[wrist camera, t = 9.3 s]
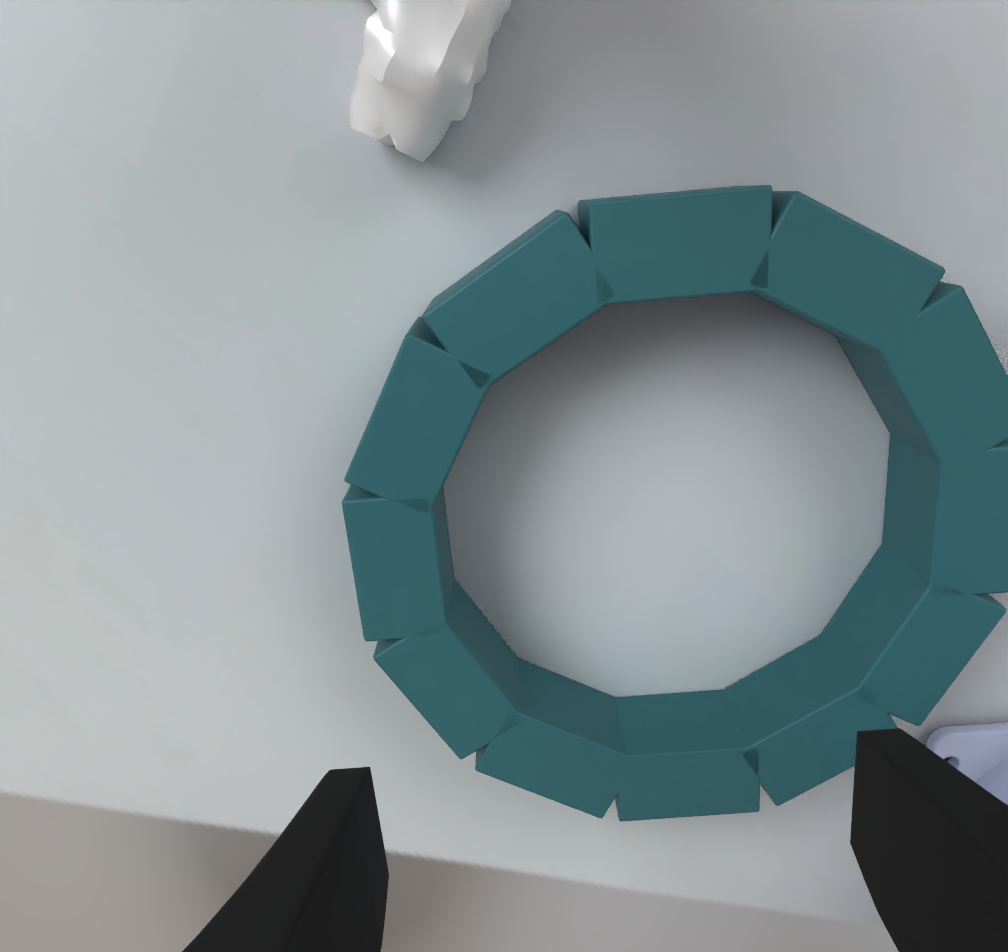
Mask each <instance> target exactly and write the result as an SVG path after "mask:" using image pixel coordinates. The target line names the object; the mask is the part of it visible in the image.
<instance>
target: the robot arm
mask: <svg viewBox="0 0 1008 952" xmlns="http://www.w3.org/2000/svg"><path fill="white" fill-rule="evenodd" d="M948 757H951V758H950V759H949V760H948V761H945V760H944V759H945V758H948ZM850 843H851V846H852V849H853V851H854V854H855V856H856V859H857V862H858V864H859V867H860V869H861V872H862V874H863V877H864V880H865V882H866V885H867V887H868V889H869V892H870V894H871V897H872V899H873V901H874V904H875V906H876V909H877V911H878V913H879V915H880V917H881V919H882V921H883V923H884V925H885V927H886V929H887V930H888V932H889V934H890V936H891V938H892V940H893V942H894V943H895V945H896V947H897V949H898V951H899V952H1008V722H1002V723H988V724H975V725H961V726H947V727H942V728H939V729H937V730H935V731H934V732H932V733H931V735H930V736H929V737H928V740H927V743H926V746H924V745H923V744H922V743H920V742H919V741H917V740H916V739H915V738H913V737H912V736H910V735H909V734H907V733H906V732H904V731H903V730H901V729H900V728H894V729H880V730H867V731H857V740H856V756H855V773H854V789H853V806H852V822H851V839H850ZM388 879H389V873H388V867H387V861H386V855H385V849H384V844H383V838H382V832H381V827H380V821H379V815H378V809H377V804H376V798H375V792H374V787H373V781H372V775H371V770H370V767H362V768H348V769H334V770H329V771H328V773H327V774H326V775H325V776H324V777H323V778H322V780H321V781H320V782H319V784H318V785H317V786H316V788H315V789H314V791H313V792H312V793H311V795H310V796H309V797H308V799H307V800H306V802H305V803H304V804H303V806H302V807H301V808H300V810H299V811H298V812H297V814H296V815H295V817H294V818H293V819H292V821H291V822H290V823H289V825H288V826H287V827H286V829H285V830H284V831H283V833H282V834H281V835H280V837H279V838H278V839H277V841H276V842H275V843H274V844H273V846H272V847H271V848H270V850H269V851H268V852H267V853H266V855H265V856H264V857H263V858H262V860H261V861H260V862H259V863H258V865H257V866H256V868H254V870H253V871H252V872H251V874H250V875H249V876H248V877H247V879H246V880H245V881H244V882H243V883H242V885H241V886H240V887H239V888H238V890H237V891H236V892H235V893H234V894H233V895H232V897H231V898H230V899H229V900H228V901H227V902H226V903H225V905H224V906H223V907H222V908H221V909H220V910H219V911H218V913H217V914H216V915H215V916H214V917H213V918H212V919H211V921H210V922H209V923H208V924H207V925H206V926H205V928H204V929H203V930H202V931H201V932H200V934H198V935H197V936H196V938H195V939H194V940H193V941H192V942H191V943H190V944H189V945H188V946H187V947H186V948H185V949H184V950H183V951H182V952H380V951H381V946H382V938H383V930H384V921H385V911H386V900H387V890H388V889H387V888H388Z"/></svg>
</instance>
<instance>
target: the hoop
mask: <svg viewBox="0 0 1008 952" xmlns="http://www.w3.org/2000/svg"><path fill="white" fill-rule="evenodd" d="M578 217H579V229H578V227H577V226H576V224H575V223H574V221H573V220H572V218H571V216H570V215H569V214H568V213H566V212H564V211H561V210H555V211H554V212H552V213H551V214H550V215H548V216H547V217H545V218H544V219H543V220H541V221H540V222H539V223H537V224H536V225H534V226H533V227H532V228H530V229H529V230H528V231H526V232H525V233H523V234H522V235H521V236H519V237H518V238H517V239H515V240H514V241H512V242H511V243H510V244H508V245H507V246H505V247H504V248H503V249H501V250H500V251H499V252H497V253H496V254H494V255H493V256H492V257H490V258H489V259H488V260H486V261H485V262H483V263H482V264H481V265H479V266H478V267H477V268H475V269H474V270H472V271H471V272H470V273H468V274H467V275H465V276H464V277H463V278H461V279H460V280H459V281H457V282H456V283H454V284H453V285H452V286H450V287H449V288H448V289H446V290H445V291H443V292H442V293H441V294H439V295H438V296H437V297H435V298H434V299H433V300H432V302H431V303H430V305H429V306H428V308H427V309H426V311H425V312H424V314H423V318H422V317H418V318H417V320H416V321H415V322H414V324H413V325H412V327H411V328H410V330H409V331H408V333H407V334H406V336H405V338H404V340H403V343H402V345H401V347H400V350H399V352H398V354H397V357H396V359H395V361H394V364H393V366H392V368H391V371H390V373H389V375H388V378H387V380H386V382H385V385H384V387H383V389H382V392H381V394H380V396H379V399H378V401H377V403H376V406H375V408H374V411H373V413H372V415H371V418H370V420H369V422H368V425H367V427H366V429H365V432H364V434H363V436H362V439H361V441H360V443H359V446H358V448H357V450H356V453H355V455H354V457H353V460H352V462H351V464H350V467H349V469H348V471H347V474H346V476H345V482H347V483H349V484H351V486H350V488H349V489H348V491H347V493H346V495H345V497H344V499H343V501H342V507H343V513H344V519H345V525H346V531H347V537H348V543H349V549H350V555H351V562H352V568H353V574H354V580H355V586H356V592H357V598H358V604H359V610H360V617H361V623H362V629H363V635H364V639H365V641H377V640H378V642H377V646H376V649H375V653H374V656H373V658H374V660H375V661H376V662H377V664H378V665H379V666H380V667H381V668H382V669H383V671H384V672H385V673H386V674H387V675H388V676H389V678H390V679H391V680H392V681H393V682H394V683H395V684H396V686H397V687H398V688H399V689H400V690H401V691H402V693H403V694H404V695H405V696H406V697H407V698H408V699H409V701H410V702H411V703H412V704H413V705H414V706H415V708H416V709H417V710H418V711H419V712H420V713H421V714H422V716H423V717H424V718H425V719H426V720H427V721H428V723H429V724H430V725H431V726H432V727H433V728H434V730H435V731H436V732H437V733H438V734H439V735H440V736H441V738H442V739H443V740H444V741H445V742H446V743H447V745H448V746H449V747H450V748H451V749H452V750H453V751H454V753H455V754H456V755H457V756H458V757H459V758H460V759H463V758H465V757H466V756H468V755H470V754H472V753H473V752H475V751H476V766H475V770H476V771H478V772H481V773H483V774H486V775H489V776H491V777H494V778H497V779H499V780H502V781H504V782H507V783H510V784H512V785H515V786H517V787H520V788H523V789H525V790H528V791H531V792H533V793H536V794H538V795H541V796H544V797H546V798H549V799H551V800H554V801H557V802H559V803H562V804H564V805H567V806H570V807H572V808H575V809H578V810H580V811H583V812H585V813H588V814H591V815H593V816H596V817H598V818H603V816H604V814H605V813H606V811H607V810H608V808H609V807H610V805H611V803H612V802H613V800H614V799H615V801H616V806H617V812H618V817H619V820H620V821H633V820H647V819H661V818H676V817H690V816H704V815H719V814H733V813H747V812H758V811H759V803H760V784H761V786H762V787H763V788H764V790H765V791H766V792H767V794H768V795H769V797H770V798H771V799H772V801H773V802H774V803H775V805H777V806H779V805H781V804H783V803H784V802H786V801H788V800H790V799H792V798H794V797H796V796H798V795H800V794H802V793H804V792H805V791H807V790H809V789H811V788H813V787H815V786H817V785H819V784H821V783H823V782H824V781H826V780H828V779H830V778H832V777H834V776H836V775H838V774H840V773H842V772H843V771H845V770H847V769H849V768H851V767H853V766H855V756H856V740H857V731H867V730H880V729H894V728H898V727H897V726H896V724H895V722H894V721H893V719H892V718H891V716H890V715H889V714H891V715H893V716H896V717H898V718H900V719H903V720H905V721H907V722H910V723H912V724H914V725H917V726H919V725H921V723H922V722H923V721H924V719H925V718H926V717H927V715H928V714H929V713H930V712H931V710H932V709H933V708H934V706H935V705H936V704H937V702H938V701H939V700H940V698H941V697H942V696H943V694H944V693H945V692H946V690H947V689H948V688H949V686H950V685H951V684H952V682H953V681H954V680H955V678H956V677H957V676H958V674H959V673H960V672H961V670H962V669H963V668H964V667H965V665H966V664H967V663H968V661H969V660H970V659H971V657H972V656H973V655H974V653H975V652H976V651H977V649H978V648H979V647H980V645H981V644H982V643H983V641H984V640H985V639H986V637H987V636H988V635H989V633H990V632H991V631H992V629H993V628H994V627H995V625H996V624H997V623H998V622H999V620H1000V619H1001V618H1002V616H1003V615H1004V614H1005V612H1006V609H1005V608H1004V606H1002V605H1001V604H1000V603H999V602H997V601H996V600H995V599H994V598H993V597H991V596H990V595H989V594H990V593H1004V592H1008V376H1007V374H1006V372H1005V370H1004V368H1003V366H1002V364H1001V362H1000V360H999V358H998V356H997V354H996V352H995V350H994V348H993V346H992V344H991V342H990V340H989V338H988V336H987V334H986V332H985V330H984V328H983V326H982V324H981V322H980V320H979V318H978V316H977V314H976V312H975V310H974V308H973V306H972V304H971V302H970V300H969V298H968V296H967V294H966V292H965V290H964V288H963V287H962V286H959V285H954V284H949V283H944V282H940V280H941V278H942V277H943V275H944V273H945V269H944V268H943V267H941V266H940V265H938V264H936V263H934V262H932V261H930V260H928V259H926V258H924V257H922V256H920V255H919V254H917V253H915V252H913V251H911V250H909V249H907V248H905V247H903V246H901V245H900V244H898V243H896V242H894V241H892V240H890V239H888V238H886V237H884V236H882V235H880V234H879V233H877V232H875V231H873V230H871V229H869V228H867V227H865V226H863V225H861V224H860V223H858V222H856V221H854V220H852V219H850V218H848V217H846V216H844V215H842V214H840V213H839V212H837V211H835V210H833V209H831V208H829V207H827V206H825V205H823V204H821V203H819V202H818V201H816V200H814V199H812V198H810V197H808V196H806V195H804V194H802V193H800V192H799V191H772V187H771V186H769V185H761V186H733V187H722V188H711V189H700V190H689V191H678V192H667V193H656V194H645V195H634V196H623V197H612V198H601V199H590V200H581V201H579V202H578ZM745 292H750V293H752V294H754V295H756V296H758V297H760V298H762V299H764V300H766V301H768V302H770V303H772V304H774V305H776V306H778V307H780V308H782V309H784V310H786V311H788V312H790V313H792V314H794V315H796V316H798V317H800V318H802V319H804V320H806V321H808V322H810V323H812V324H814V325H816V326H818V327H820V328H822V329H824V330H826V331H828V332H830V333H832V334H834V335H835V336H836V338H837V340H838V342H839V343H840V345H841V347H842V349H843V351H844V352H845V354H846V356H847V358H848V359H849V361H850V363H851V365H852V367H853V368H854V370H855V372H856V374H857V375H858V377H859V379H860V381H861V383H862V384H863V386H864V388H865V390H866V391H867V393H868V395H869V397H870V398H871V400H872V402H873V404H874V406H875V407H876V409H877V411H878V413H879V414H880V416H881V418H882V420H883V422H884V423H885V425H886V427H887V429H888V430H889V432H890V446H889V459H888V473H887V487H886V500H885V514H884V528H883V541H882V545H881V546H880V548H879V549H878V551H877V552H876V554H875V555H874V557H873V558H872V560H871V561H870V562H869V564H868V565H867V567H866V568H865V570H864V571H863V573H862V574H861V576H860V577H859V579H858V580H857V582H856V583H855V585H854V586H853V588H852V589H851V591H850V592H849V593H848V595H847V596H846V598H845V599H844V601H843V602H842V604H841V605H840V607H839V608H838V610H837V611H836V613H835V614H834V616H833V617H832V619H831V620H830V622H829V623H828V624H827V626H826V627H825V629H824V630H823V632H822V633H821V635H819V636H818V637H816V638H814V639H812V640H811V641H809V642H807V643H805V644H804V645H802V646H800V647H798V648H796V649H795V650H793V651H791V652H789V653H788V654H786V655H784V656H782V657H780V658H779V659H777V660H775V661H773V662H772V663H770V664H768V665H766V666H765V667H763V668H761V669H759V670H757V671H756V672H754V673H752V674H750V675H749V676H747V677H745V678H743V679H741V680H740V681H738V682H736V683H734V684H733V685H731V686H729V687H727V688H726V689H724V690H712V691H699V692H685V693H672V694H658V695H645V696H631V697H618V698H615V697H612V696H610V695H607V694H605V693H602V692H600V691H597V690H595V689H593V688H590V687H588V686H585V685H583V684H580V683H578V682H575V681H573V680H570V679H568V678H566V677H563V676H561V675H558V674H556V673H553V672H551V671H548V670H546V669H543V668H541V667H539V666H536V665H534V664H531V663H529V662H526V661H524V660H521V659H519V658H517V656H516V655H515V654H514V653H513V651H512V650H511V649H510V648H509V646H508V645H507V644H506V643H505V641H504V640H503V639H502V638H501V636H500V635H499V634H498V633H497V631H496V630H495V629H494V628H493V626H492V625H491V624H490V623H489V621H488V620H487V619H486V618H485V616H484V615H483V614H482V613H481V611H480V610H479V609H478V608H477V606H476V605H475V604H474V603H473V601H472V600H471V599H470V598H469V596H468V595H467V594H466V593H465V591H464V590H463V589H462V588H461V586H460V585H459V584H458V582H457V581H456V580H455V579H454V575H453V567H452V558H451V550H450V541H449V533H448V525H447V516H446V508H445V499H444V491H443V484H444V482H445V480H446V478H447V475H448V473H449V471H450V469H451V467H452V465H453V463H454V461H455V458H456V456H457V454H458V452H459V450H460V448H461V446H462V444H463V441H464V439H465V437H466V435H467V433H468V431H469V429H470V427H471V424H472V422H473V420H474V418H475V416H476V414H477V412H478V410H479V407H480V405H481V403H482V401H483V399H484V397H485V395H486V393H487V390H488V388H489V386H490V385H492V384H493V383H495V382H496V381H497V380H499V379H500V378H502V377H503V376H505V375H506V374H508V373H509V372H511V371H512V370H513V369H515V368H516V367H518V366H519V365H521V364H522V363H524V362H525V361H527V360H528V359H529V358H531V357H532V356H534V355H535V354H537V353H538V352H540V351H541V350H543V349H544V348H545V347H547V346H548V345H550V344H551V343H553V342H554V341H556V340H557V339H558V338H560V337H561V336H563V335H564V334H566V333H567V332H569V331H570V330H572V329H573V328H574V327H576V326H577V325H579V324H580V323H582V322H583V321H585V320H586V319H588V318H589V317H590V316H592V315H593V314H595V313H596V312H598V311H599V310H601V309H602V308H604V307H605V306H606V305H608V304H619V303H630V302H642V301H653V300H665V299H676V298H687V297H699V296H710V295H722V294H733V293H745Z"/></svg>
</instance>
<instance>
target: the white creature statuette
mask: <svg viewBox="0 0 1008 952" xmlns="http://www.w3.org/2000/svg"><path fill="white" fill-rule="evenodd" d="M511 1H512V0H379V1H378V0H371V2H372V3H373V5H374V6H375V7H376V9H377V11H376V12H375V13H373V14H372V15H371V16H370V17H369V18H368V20H366V21H365V24H364V27H363V31H362V35H363V43H364V49H363V54H362V56H361V59H360V61H359V64H358V66H357V71H358V77H357V80H356V83H355V86H354V89H353V92H352V95H351V98H350V127H352V128H353V129H355V130H357V131H359V132H362V133H364V134H366V135H368V136H370V137H372V138H374V139H375V140H377V141H380V142H382V143H384V144H386V145H389V146H392V145H395V148H396V150H398V151H400V152H402V153H404V154H406V155H408V156H410V157H412V158H414V159H416V160H418V161H421V162H424V161H425V159H426V158H427V157H428V156H429V155H430V154H431V153H432V152H433V151H434V150H435V149H436V148H437V147H438V145H439V144H440V142H441V140H442V139H443V137H444V136H445V134H446V132H447V130H448V128H449V127H450V125H451V123H452V122H453V121H461V120H462V119H463V118H464V117H465V116H466V114H467V112H468V110H469V107H470V104H471V100H472V97H473V89H474V85H476V84H477V83H479V82H480V81H481V80H482V79H483V77H484V74H485V72H486V70H487V61H488V48H489V45H490V42H491V40H492V37H493V35H494V34H495V33H496V32H497V31H498V30H499V29H500V28H501V21H502V19H503V17H504V16H505V14H506V13H507V11H508V10H509V9H510V6H511Z"/></svg>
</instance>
